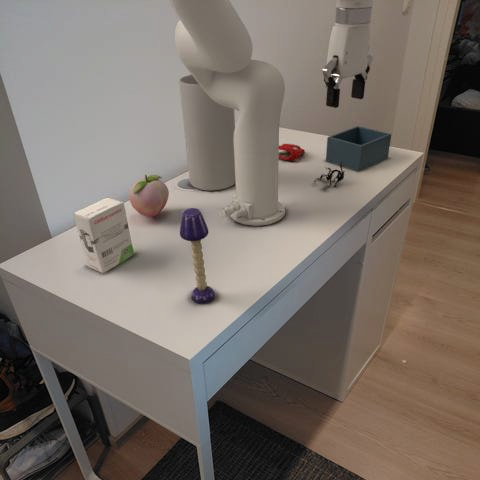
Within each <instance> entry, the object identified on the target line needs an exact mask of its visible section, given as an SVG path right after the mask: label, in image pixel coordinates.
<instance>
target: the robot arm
mask: <svg viewBox="0 0 480 480" xmlns="http://www.w3.org/2000/svg"><path fill="white" fill-rule="evenodd" d="M169 1H170V2H169V3H170V4H171V6H172V9H173V11H174V12H175V14H176V17H178V19H179V20H178V22H177V24H176V26H175V31H174V44H175V49H176V52H177V56H178V57H179V59H180V61H181V62H182V64H183V65H184V67H185V68H186V70H187V71H188V72H189V73H190V75H192V76H193V77H194V78H195V80H196V81H197V82H198V83H199V85H200V86H201V87H202V88H203V90H204V91H205V92H206V93H207V95H208V96H209V97H210V98H211V99H212V100H213V101H214V102H216V103H218V104H220V105H222V106H225V107H228V108H232V109H234V111H238V112H239V115H238V119H237V121H236V123H235V130H234V137H233V141H234V160H235V182H236V183H235V197H233V198H232V203H231V204H230V205H229V206H227V207H223V208H222V209H220V210H219V213H220V216H221V217H222V218H224V219H225V218H227V217H229V216H230V218H231V219H232V220H233V221H235V222H236V223H238V224H242V225H245V226H254V227H255V226H256V227H257V226H266V225H271V224H275V223H277V222H279V221H280V220H281V219H283V218H284V217H285V214H286V208H285V206H284V205H283V204H282V202H280V201H279V169H280V167H279V165H280V163H279V161H280V160H279V159H280V158H279V155H280V150H279V146H280V124H281V123H280V121H281V114H282V108H283V103H284V99H285V92H286V91H285V89H286V86H285V85H286V84H285V79H284V76H283V75H282V73H281V71H280V70H279V69H278V68H277V67H276V66H275V65H273V64H271V63H269V62H266V61H263V60H258V59H253V58H252V56H253V41H252V37H251V35H250V33H249V31H248V29H247V27H246V25H245V24H244V22H243V21H242V20H243V19H241V17H240V16H239V14H238V12H237V11H236V9H235V8H234V5H233V4H232V2H231V0H169ZM373 4H374V0H336V2H335V14H334V25H333V26H332V28H331V29H332V30H331V33H330V37H329V42H328V49H327V57H326V65H325V66H324V67H323V68H322V70H321V71H322V76H323V82H324V84H325V88H326V101H325V106H326V107H330V108H334V109H337V108H339V106H340V95H341V88H339V87H340V85H341V83H342V81H343V79H347V78H351V77H354V78H352V83H351V94H350V97H351V98H352V99H358V100H363V99H364V98H365V89H366V81H367V80H368V74H369V72H370V71H371V66H372V62H373V60H374V58H373V56H372V55H371V54H370V44H371V22H372V20H371V19H372V11H373Z"/></svg>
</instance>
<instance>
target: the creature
mask: <svg viewBox="0 0 480 480" xmlns="http://www.w3.org/2000/svg"><path fill="white" fill-rule="evenodd" d="M341 164H342V162H341V163H340V165H339V168H340V170H339V169H331V168H330V167H326V166H324V168H325V170H326V171H328V172H326V173H327V174H325V173H322V174H321V175H320V176H319V177H317V178H316V179H315V180H314V181H313V182H314V183H316V182H317V181H320V182H321V181H322V182H324V180H323V178H324V177H325V178H326V183H327V182H329V186H328V185H326V186H325V187H324V191H327V190H328V189H329V188H330V187H333V188H336V187H337V184H338V183H339V182H341V181H342V180H343V179H344V178H345V173H346V170H343V166H341ZM336 172H337V174H336V176H335V178H333V174H334V173H336ZM332 179H333V180H332ZM336 179H337V180H336ZM335 181H336V182H335ZM332 183H335V184H334V185H332Z"/></svg>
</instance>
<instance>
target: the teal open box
mask: <svg viewBox="0 0 480 480" xmlns="http://www.w3.org/2000/svg"><path fill="white" fill-rule="evenodd" d="M391 140H392V133H389V132H385V131H381V130H377V129H373V128H369V127H365V126H360V125H356V126H354V127H351V128H348V129H346V130H343V131H339V132H338V133H334V134H332V135H330V136H329V135H328V136H327V139H326V151H325V152H326V153H325V162H327V163H330V164H333V165H336V166H340V163H341V162H342V164H341V166H342V168H347V169H349V170H353V171H356V172H360V171H362V170H365V169H367V168H369V167H371V166H372V167H373V166H374V165H377V164H379V163H381V162H383V161H385V160H387V159H388V158H389V154H390V153H389V152H390V146H391Z"/></svg>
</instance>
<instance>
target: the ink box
mask: <svg viewBox="0 0 480 480" xmlns="http://www.w3.org/2000/svg"><path fill="white" fill-rule="evenodd" d="M72 215H73V218H74V221H75V225H76V228H77V232H78V235H79V240H80V243H81V246H82V250H83V254H84V258H85V261H86V265H87V267H88V268H90V269H93V270H95V271H97V272H99V273H101V274H105V273H107V272H108V271H110V270H112V269H113V268H115V267H116V266H118V265H119V264H121V263H123V262H125V261H126V260H128V259H130V258H131V257H133V256H134V255H135V252H134V248H133V247H134V246H133V243H132V238H131V232H130V228H129V222H128V217H127V213H126V206H125V203H124V202H123V201H121V200H117V199H114V198H111V197H105V198H103V199H100V200H99V201H96V202H94V203H91V204H90V205H89V206H86V207H84V208H81V209H79V210H76V211H75V212H73V213H72Z"/></svg>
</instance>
